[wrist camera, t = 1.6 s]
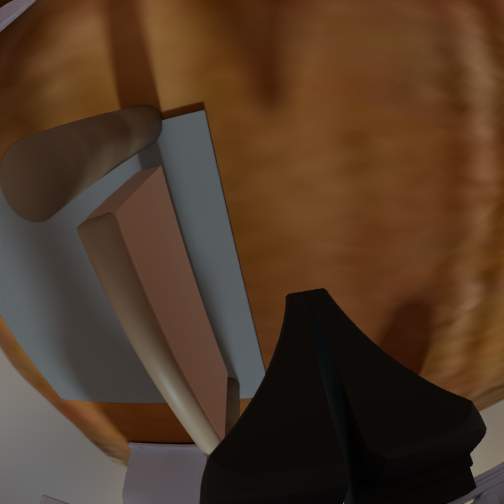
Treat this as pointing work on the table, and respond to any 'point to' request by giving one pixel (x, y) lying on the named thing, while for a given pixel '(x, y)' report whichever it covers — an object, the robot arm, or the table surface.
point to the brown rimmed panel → (159, 301)
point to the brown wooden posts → (82, 173)
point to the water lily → (13, 11)
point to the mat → (90, 290)
